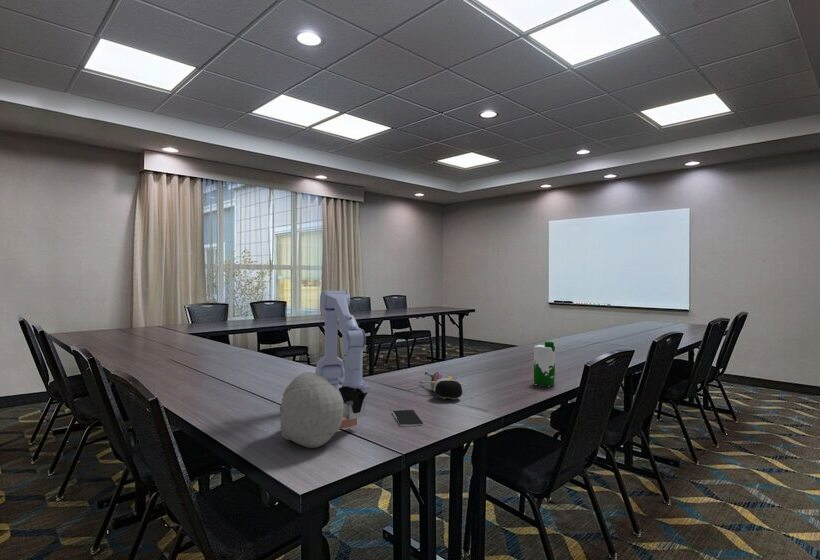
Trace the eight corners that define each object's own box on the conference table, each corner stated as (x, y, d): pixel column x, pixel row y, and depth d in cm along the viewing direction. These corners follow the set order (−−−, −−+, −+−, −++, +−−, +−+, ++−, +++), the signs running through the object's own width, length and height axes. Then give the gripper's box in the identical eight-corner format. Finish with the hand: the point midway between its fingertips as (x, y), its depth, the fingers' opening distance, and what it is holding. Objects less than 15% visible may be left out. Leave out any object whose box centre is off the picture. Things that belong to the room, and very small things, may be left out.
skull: (321, 421, 145) (322, 361, 145) (349, 450, 121) (351, 378, 121) (268, 429, 137) (269, 365, 137) (288, 461, 113) (289, 384, 113)
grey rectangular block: (342, 416, 137) (342, 402, 137) (357, 413, 141) (357, 399, 141) (349, 419, 134) (349, 405, 134) (364, 416, 138) (365, 401, 138)
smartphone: (400, 425, 141) (391, 410, 156) (400, 428, 141) (391, 414, 156) (424, 423, 143) (413, 409, 158) (424, 427, 143) (413, 412, 158)
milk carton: (550, 388, 195) (551, 343, 195) (531, 385, 201) (531, 341, 201) (556, 384, 202) (557, 341, 202) (537, 381, 208) (538, 339, 208)
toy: (412, 386, 198) (423, 400, 168) (413, 366, 199) (425, 377, 169) (461, 388, 201) (480, 403, 172) (462, 369, 202) (482, 380, 172)
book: (312, 420, 147) (312, 411, 147) (332, 415, 153) (332, 407, 153) (336, 431, 137) (336, 421, 137) (356, 425, 143) (356, 416, 143)
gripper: (329, 366, 140) (329, 408, 140) (356, 373, 129) (356, 419, 129) (348, 363, 145) (347, 404, 145) (375, 370, 134) (374, 414, 134)
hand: (352, 411), depth 137 cm, fingers closed on grey rectangular block, 4 cm apart
